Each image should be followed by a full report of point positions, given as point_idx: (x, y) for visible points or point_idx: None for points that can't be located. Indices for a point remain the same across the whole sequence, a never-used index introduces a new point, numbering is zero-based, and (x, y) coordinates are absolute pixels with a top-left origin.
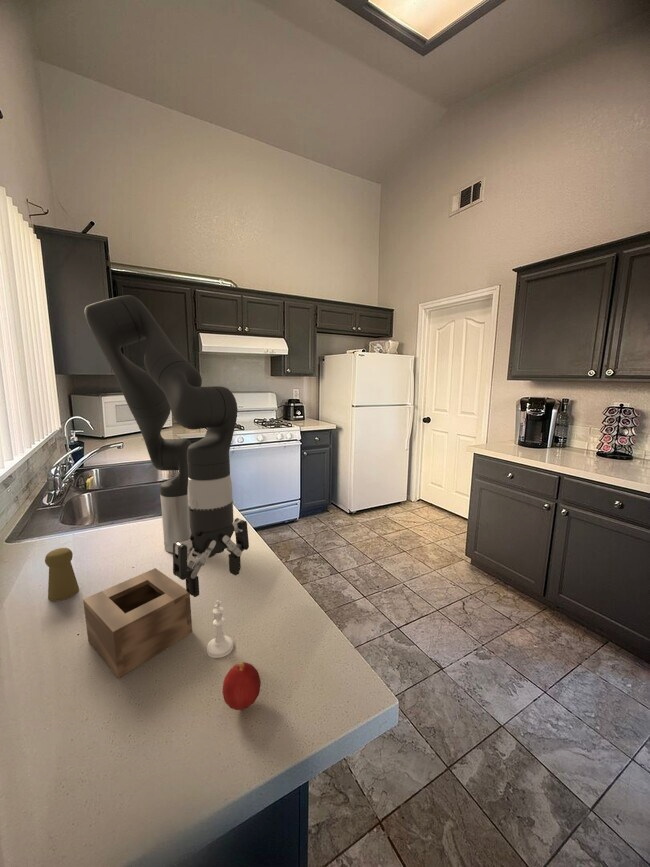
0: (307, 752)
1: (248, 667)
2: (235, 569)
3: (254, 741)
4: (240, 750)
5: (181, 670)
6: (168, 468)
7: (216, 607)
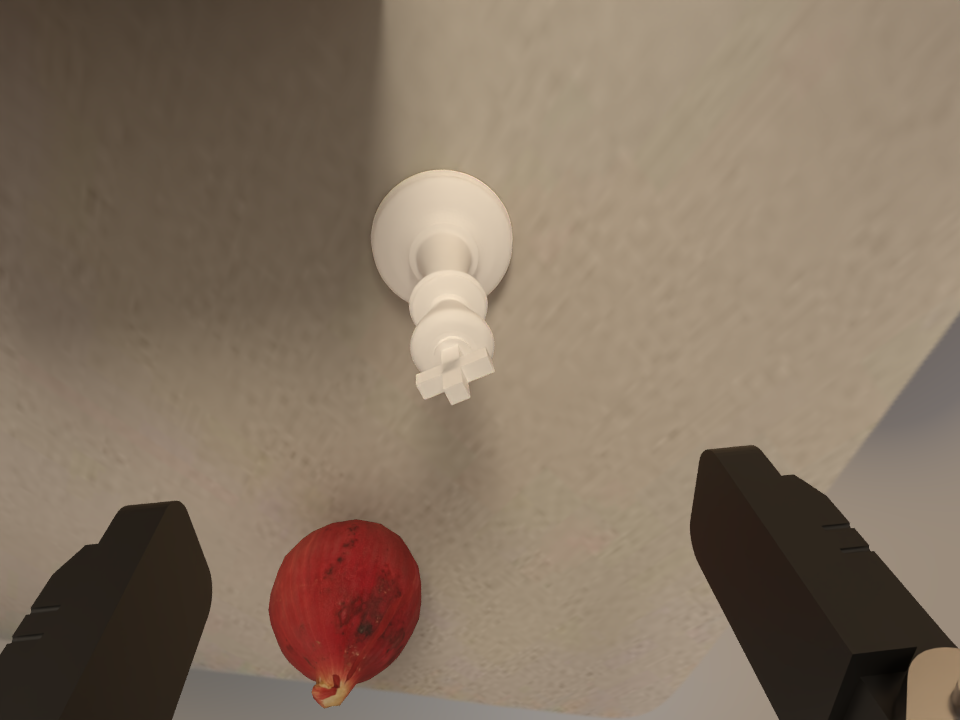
0: (413, 693)
1: (366, 677)
2: (722, 600)
3: None
4: None
5: (222, 230)
6: None
7: (428, 394)
